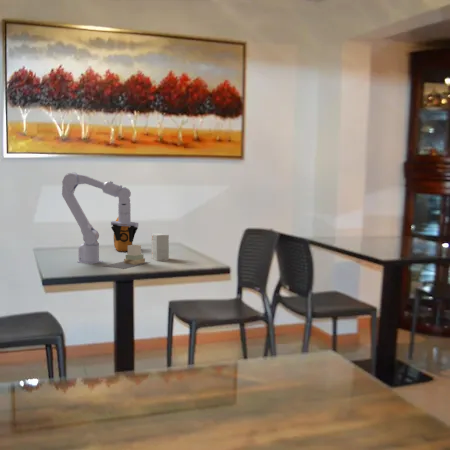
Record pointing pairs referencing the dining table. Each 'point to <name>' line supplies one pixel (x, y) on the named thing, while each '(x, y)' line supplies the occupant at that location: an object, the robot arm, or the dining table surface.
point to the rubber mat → (123, 265)
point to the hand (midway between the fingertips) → (124, 241)
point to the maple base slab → (134, 261)
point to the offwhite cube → (134, 250)
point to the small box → (160, 247)
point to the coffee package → (122, 239)
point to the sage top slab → (134, 257)
